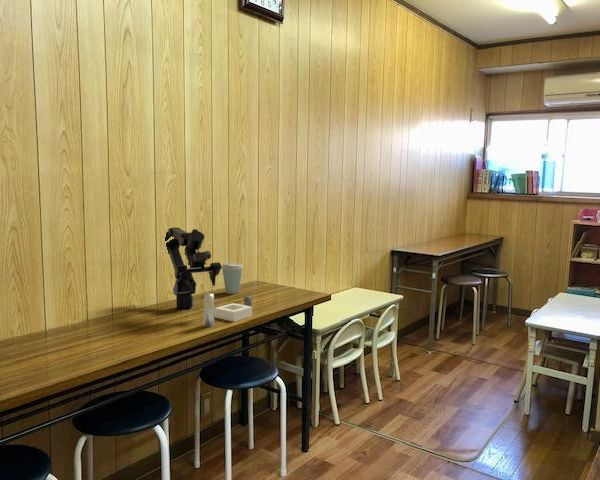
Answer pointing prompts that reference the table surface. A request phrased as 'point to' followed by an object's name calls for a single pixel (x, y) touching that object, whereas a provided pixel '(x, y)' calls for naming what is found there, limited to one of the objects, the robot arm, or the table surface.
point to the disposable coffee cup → (232, 277)
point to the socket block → (233, 312)
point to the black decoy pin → (248, 301)
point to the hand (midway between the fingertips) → (203, 286)
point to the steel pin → (208, 309)
